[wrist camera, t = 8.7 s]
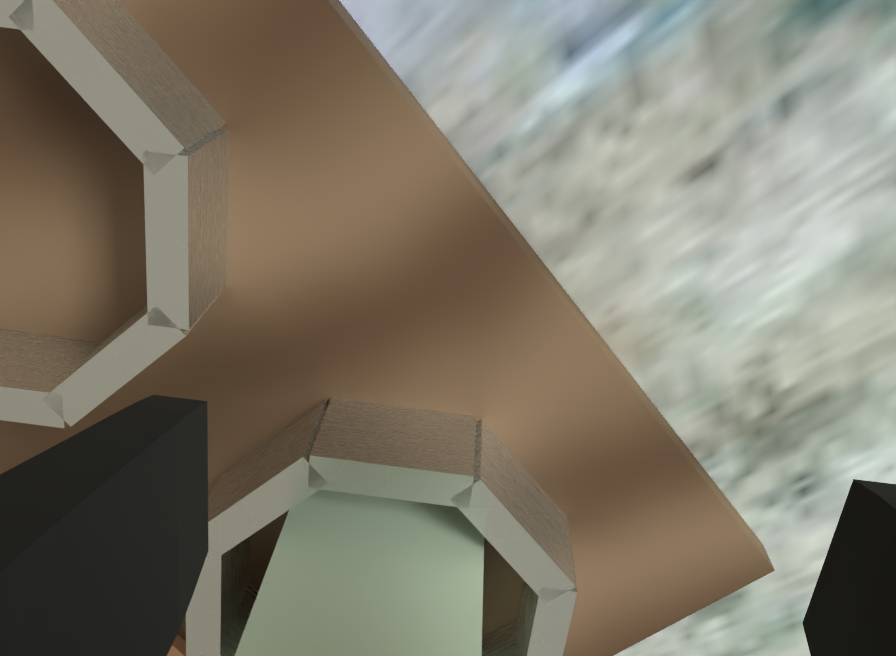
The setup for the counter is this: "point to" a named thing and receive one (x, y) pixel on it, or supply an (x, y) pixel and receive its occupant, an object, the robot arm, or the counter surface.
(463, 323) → the walnut board
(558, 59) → the counter surface
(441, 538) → the sage plug
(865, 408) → the counter surface
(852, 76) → the counter surface
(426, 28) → the counter surface
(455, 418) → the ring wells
